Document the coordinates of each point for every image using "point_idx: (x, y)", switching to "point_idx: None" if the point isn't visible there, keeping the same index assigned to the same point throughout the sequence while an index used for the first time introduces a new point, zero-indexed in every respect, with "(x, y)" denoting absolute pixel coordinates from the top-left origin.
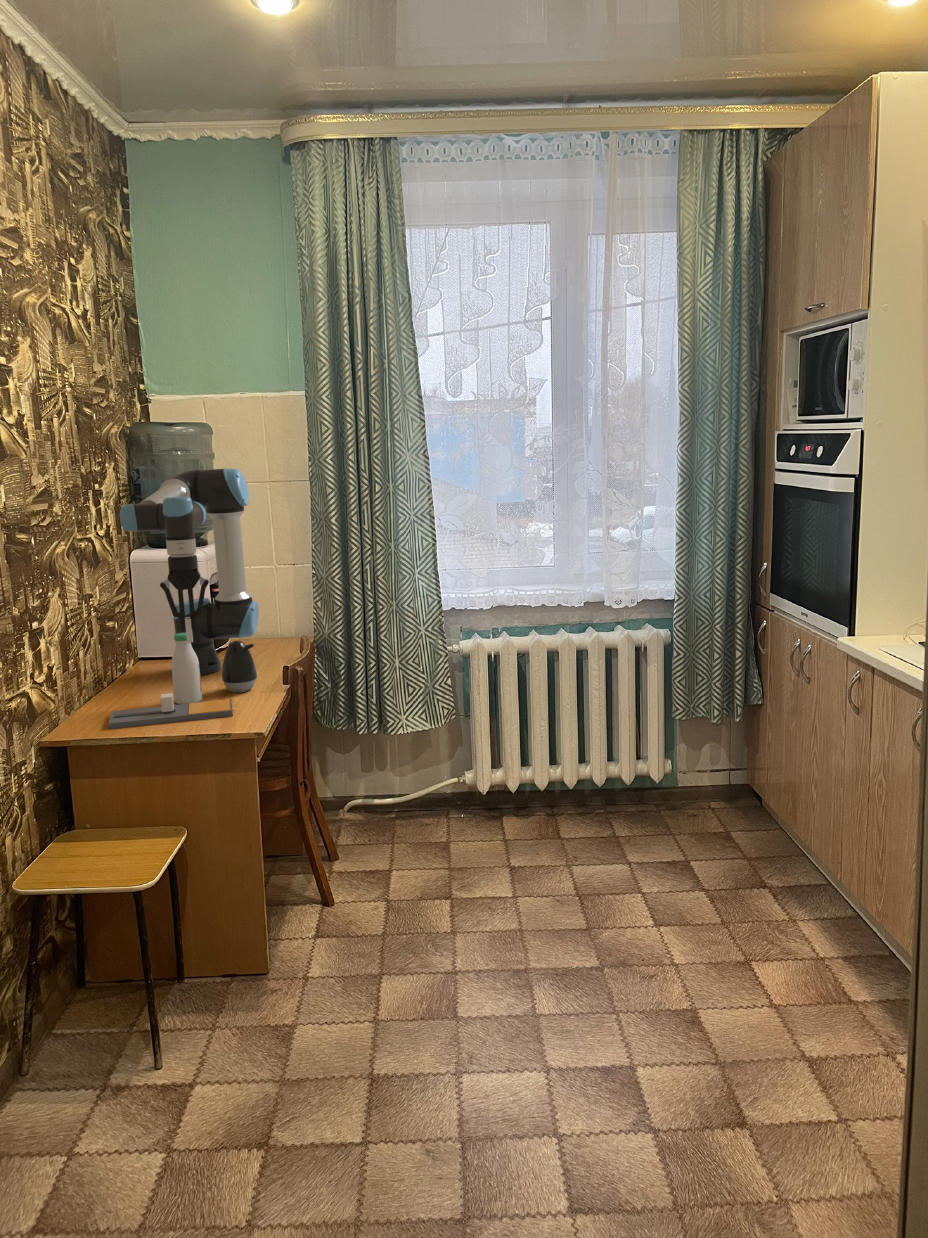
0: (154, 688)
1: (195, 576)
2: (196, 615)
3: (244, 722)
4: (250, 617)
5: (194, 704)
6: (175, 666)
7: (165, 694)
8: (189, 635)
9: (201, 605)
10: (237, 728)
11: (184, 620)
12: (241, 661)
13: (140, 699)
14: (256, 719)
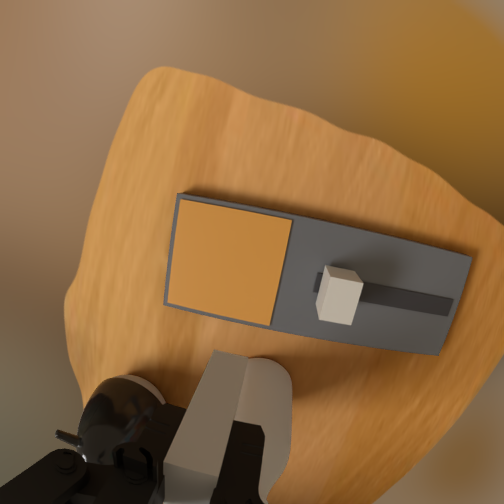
0: (301, 485)
1: None
2: (103, 470)
3: (168, 121)
4: None
5: (259, 306)
6: (283, 434)
7: (341, 314)
8: (220, 378)
9: (5, 497)
10: (195, 80)
11: (224, 477)
12: (100, 412)
13: (347, 441)
14: (139, 133)
